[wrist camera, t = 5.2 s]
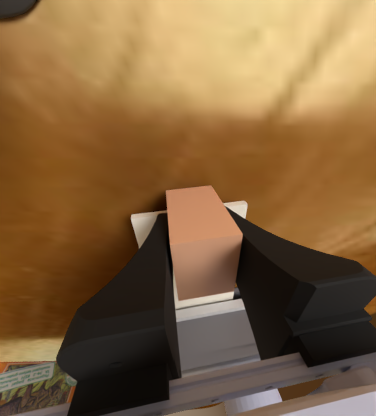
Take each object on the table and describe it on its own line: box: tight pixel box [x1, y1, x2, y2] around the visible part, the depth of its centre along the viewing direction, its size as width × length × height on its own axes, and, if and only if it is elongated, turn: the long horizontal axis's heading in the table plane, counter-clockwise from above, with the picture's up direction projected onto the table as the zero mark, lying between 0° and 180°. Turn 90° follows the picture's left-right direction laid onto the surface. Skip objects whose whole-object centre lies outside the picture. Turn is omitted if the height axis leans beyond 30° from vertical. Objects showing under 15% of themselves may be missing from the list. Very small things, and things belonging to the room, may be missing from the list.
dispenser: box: [175, 288, 261, 378], centre depth 18 cm, size 9×14×6 cm, turn 93°
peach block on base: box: [131, 185, 247, 310], centre depth 12 cm, size 14×8×5 cm, turn 3°
